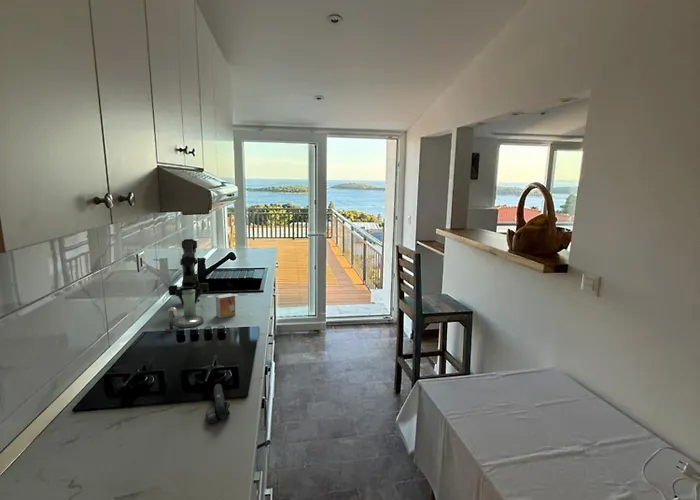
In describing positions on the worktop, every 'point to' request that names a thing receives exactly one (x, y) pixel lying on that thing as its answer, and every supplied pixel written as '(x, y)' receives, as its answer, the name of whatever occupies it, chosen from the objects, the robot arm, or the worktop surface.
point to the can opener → (218, 406)
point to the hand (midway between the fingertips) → (189, 303)
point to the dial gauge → (172, 314)
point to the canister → (189, 302)
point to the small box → (225, 305)
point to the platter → (189, 322)
